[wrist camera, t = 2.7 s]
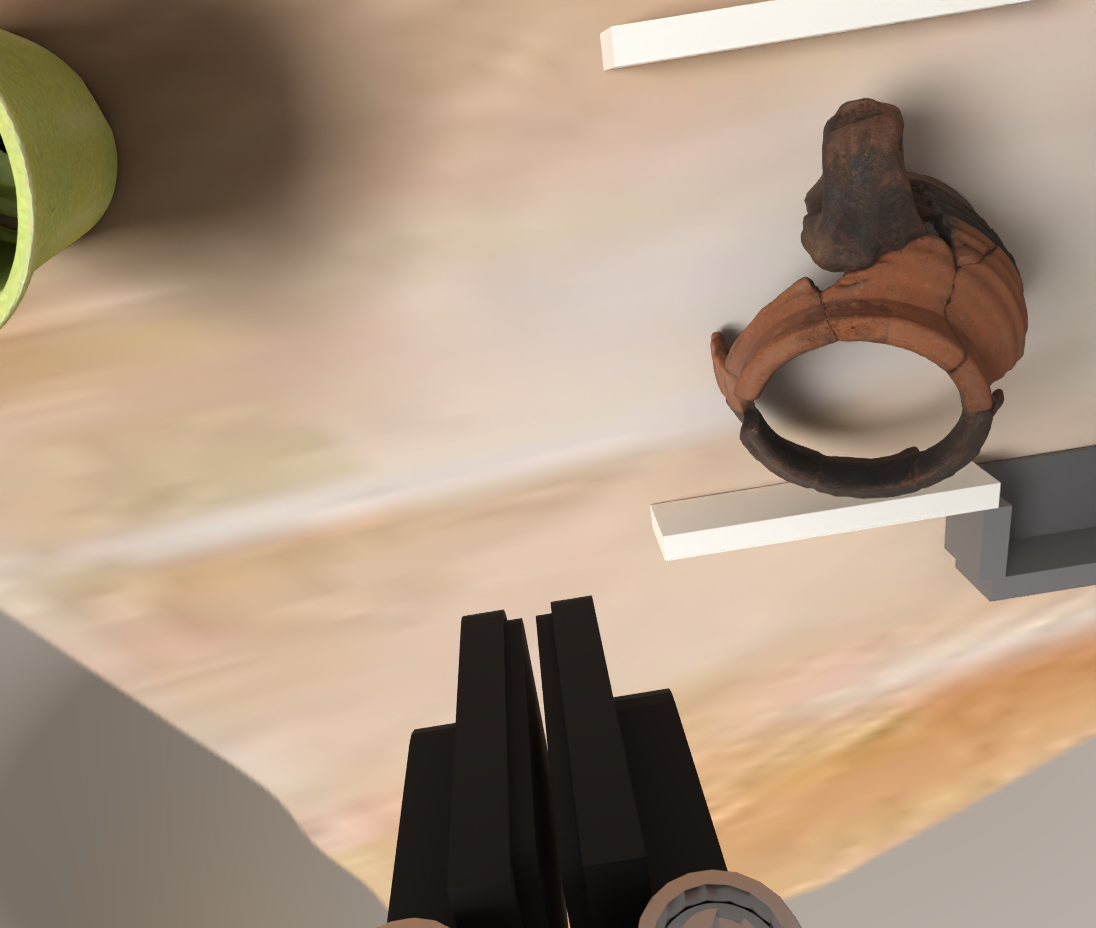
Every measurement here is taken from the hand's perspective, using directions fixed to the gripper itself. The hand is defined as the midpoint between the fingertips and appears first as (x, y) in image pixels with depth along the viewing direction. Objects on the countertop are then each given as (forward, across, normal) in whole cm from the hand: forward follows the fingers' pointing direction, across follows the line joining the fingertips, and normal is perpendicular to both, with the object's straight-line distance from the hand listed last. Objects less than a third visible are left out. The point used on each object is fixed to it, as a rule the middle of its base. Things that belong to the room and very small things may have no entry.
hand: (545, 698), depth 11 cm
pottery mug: (+19, -11, 0) cm, 22 cm away
